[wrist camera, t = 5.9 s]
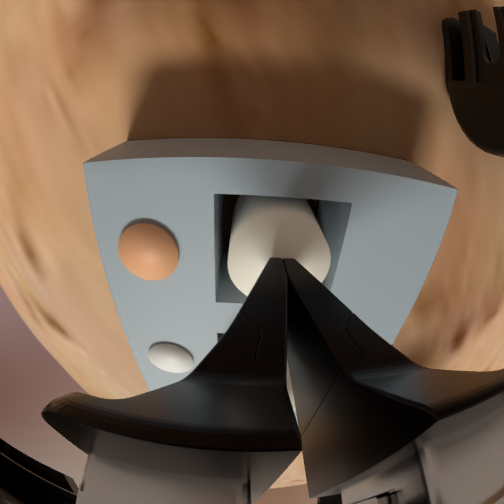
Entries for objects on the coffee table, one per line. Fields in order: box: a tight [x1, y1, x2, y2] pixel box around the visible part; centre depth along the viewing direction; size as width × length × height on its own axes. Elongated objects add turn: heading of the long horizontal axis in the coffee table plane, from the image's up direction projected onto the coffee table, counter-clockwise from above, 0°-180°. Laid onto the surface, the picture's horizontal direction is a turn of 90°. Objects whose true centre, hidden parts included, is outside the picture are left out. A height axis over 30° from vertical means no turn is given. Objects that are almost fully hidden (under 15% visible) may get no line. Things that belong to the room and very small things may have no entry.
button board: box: [83, 138, 458, 424], centre depth 15 cm, size 14×20×4 cm
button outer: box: [227, 195, 331, 296], centre depth 11 cm, size 4×4×4 cm
